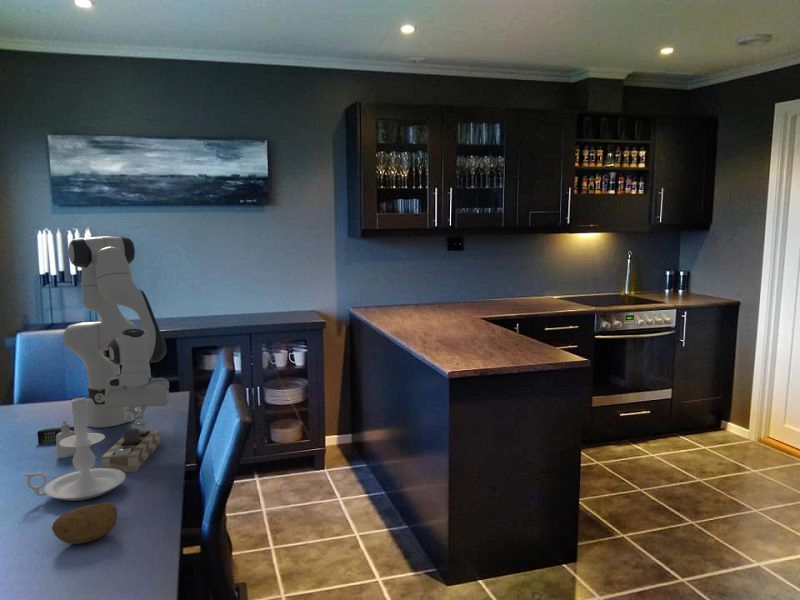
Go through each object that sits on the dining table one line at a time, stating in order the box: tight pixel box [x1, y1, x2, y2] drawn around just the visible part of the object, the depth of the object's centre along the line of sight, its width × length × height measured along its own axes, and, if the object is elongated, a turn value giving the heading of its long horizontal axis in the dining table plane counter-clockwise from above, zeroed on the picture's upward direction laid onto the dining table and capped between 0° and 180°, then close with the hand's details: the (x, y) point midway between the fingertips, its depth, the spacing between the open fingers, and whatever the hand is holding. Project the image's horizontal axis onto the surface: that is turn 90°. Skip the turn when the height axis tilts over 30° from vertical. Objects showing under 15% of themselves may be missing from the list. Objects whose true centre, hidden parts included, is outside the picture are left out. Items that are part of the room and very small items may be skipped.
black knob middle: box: [122, 428, 139, 446], centre depth 201 cm, size 5×5×5 cm
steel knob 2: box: [131, 420, 148, 437], centre depth 209 cm, size 5×5×5 cm
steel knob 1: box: [115, 446, 131, 455], centre depth 194 cm, size 5×5×5 cm
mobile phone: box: [37, 426, 76, 445], centre depth 219 cm, size 5×3×15 cm
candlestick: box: [24, 397, 126, 502], centre depth 173 cm, size 21×25×28 cm
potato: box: [51, 502, 118, 545], centre depth 149 cm, size 10×14×8 cm
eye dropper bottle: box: [55, 419, 76, 460], centre depth 204 cm, size 4×6×12 cm
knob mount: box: [100, 429, 160, 473], centre depth 202 cm, size 24×10×5 cm, turn 5°
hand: (138, 418), depth 209 cm, fingers closed
